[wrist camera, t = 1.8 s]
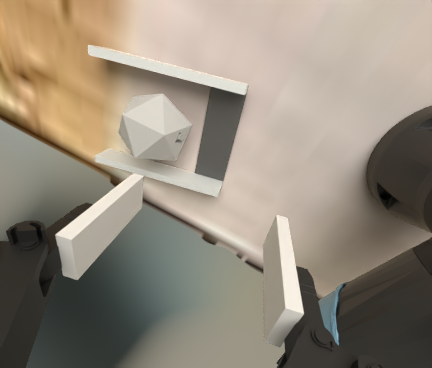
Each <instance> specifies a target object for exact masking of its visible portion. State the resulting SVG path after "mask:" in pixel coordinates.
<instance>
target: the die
mask: <svg viewBox="0 0 432 368" xmlns="http://www.w3.org/2000/svg"><path fill="white" fill-rule="evenodd" d="M191 127H192V124H191V123H190V122H189V121H188V120H187V119H186V117H185V116H184V115H183V114H182V113H181V112H180V111H179V110H178V109H177V107H176V106H175V105H174V104H173V103H172V102H171V101H170V100H169V99H168V98H167V97H166V96H165V95H164V94H163V93H162V94H150V95H137V96H133V98H132V100H131V101H130V103H129V105H128V106H127V108H126V110H125V111H124V113H123V115H122V120H121V124H120V129H119V134H120V136H121V137H122V139H123V140H124V142H125V144H126V145H127V147H128V148H129V150H130V151H131V153H132V155H133V156H134V158H138V159H154V160H170V161H176V160H177V157H178V155H179V153H180V151H181V149H182V146H183V144H184V142H185V140H186V138H187V136H188V133H189V131H190V129H191Z"/></svg>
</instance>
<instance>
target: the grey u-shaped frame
mask: <svg viewBox="0 0 432 368" xmlns="http://www.w3.org/2000/svg"><path fill="white" fill-rule="evenodd" d="M88 55H91V56H95V57H99V58H103V59H107V60H111V61H115V62H118V63H122V64H126V65H130V66H134V67H138V68H142V69H145V70H149V71H153V72H157V73H161V74H165V75H169V76H172V77H176V78H180V79H184V80H188V81H192V82H196V83H199V84H203V85H207V86H211V92H210V97H209V103H208V108H207V113H206V118H205V124H204V129H203V134H202V139H201V145H200V150H199V155H198V160H197V166H196V171H195V173H194V172H191V171H187V170H184V169H180V168H177V167H173V166H170V165H166V164H163V163H159V162H156V161H152V160H149V159H138V158H134V156H133V155H131V154H128V153H124V152H121V151H117V150H114V149H110V148H109V149H107V150H105V151H103V152H101V153H99V154H97V155H95V162H98V163H101V164H105V165H108V166H111V167H115V168H118V169H122V170H125V171H129V172H132V173H135V174H139V175H142V176H146V177H149V178H153V179H156V180H159V181H163V182H166V183H170V184H173V185H177V186H180V187H183V188H187V189H190V190H194V191H197V192H201V193H204V194H207V195H211V196H214V197H218V195H219V192H220V190H221V187H222V183H223V179H224V176H225V172H226V168H227V165H228V161H229V157H230V153H231V150H232V146H233V142H234V138H235V135H236V131H237V127H238V123H239V120H240V116H241V112H242V108H243V105H244V101H245V97H246V93H247V90H248V86H249V84H247V83H243V82H239V81H235V80H231V79H227V78H223V77H219V76H215V75H211V74H207V73H204V72H200V71H196V70H192V69H188V68H184V67H180V66H176V65H172V64H168V63H164V62H161V61H157V60H153V59H149V58H145V57H141V56H137V55H133V54H129V53H125V52H121V51H117V50H114V49H110V48H105V47H99V46H92V45H88Z"/></svg>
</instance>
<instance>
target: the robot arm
mask: <svg viewBox="0 0 432 368" xmlns="http://www.w3.org/2000/svg"><path fill="white" fill-rule="evenodd" d="M143 181H144V176H142V175H139V174H135V173H133V174H132V175H131V176H129V177H128V178H127V179H125V180H124V181H123V182H122V183H120V184H119V185H118V186H117V187H115V188H114V189H113V190H111V191H110V192H109V193H108V194H106V195H105V196H104V197H103V198H101V199H100V200H99V201H98V202H96V203H95V204H94V205H93V204H89V203H85V204H83V205H80V206H77V207H76V208H75V209H73V210H72V211H70V213H68V214H66V215H65V216H64V217H63V218H61V219H60V220H58V221H57V222H55V223H54V224H53V225H51V226H50V227H49V228H47V229H45V226H44V224H43V223H41V222H39V221H24V222H21V223H17V224H15V225H14V226H12V227H10V228H9V229H8V230H7V231H6V233H7V236H8V239H9V241H8V242H7V241H0V368H26V365H27V362H28V359H29V356H30V353H31V350H32V347H33V344H34V341H35V338H36V336H37V333H38V330H39V327H40V324H41V321H42V318H43V315H44V312H45V309H46V306H47V304H48V301H49V298H50V295H51V292H52V289H53V286H54V283H55V280H56V273H57V272H58V271H59V270H60V269H61V268H62V272H63V276H66V277H69V278H72V279H75V280H78V279H79V278H80V277H81V275H82V274H83V273H84V272H85V271H86V270H87V269H88V267H89V266H90V265H91V264H92V263H93V262H94V261H95V260H96V258H97V257H98V256H99V255H100V254H101V253H102V252H103V251H104V250H105V248H106V247H107V246H108V245H109V244H110V243H111V242H112V241H113V239H114V238H115V237H116V236H117V235H118V234H119V232H120V231H121V230H122V229H123V228H124V227H125V226H126V225H127V223H128V222H129V221H130V220H131V219H132V218H133V217H134V216H135V215H136V213H137V212H138V211H139V210H140V209H141V208H142V197H143ZM367 183H368V186H369V189H370V191H371V193H372V195H373V196H374V197H375V199H376V200H377V201H378V202H379V203H380V204H381V205H382V206H383V207H384V208H385V209H386V210H387V211H388V212H390V213H391V214H392V215H394V216H396V217H398V218H400V219H402V220H404V221H407V222H409V223H411V224H413V225H415V226H418V227H420V228H422V229H424V230H426V231H429V232H431V233H432V106H429V107H427V108H424V109H422V110H420V111H418V112H416V113H414V114H412V115H410V116H408V117H407V118H405V119H404V120H402V121H401V122H400V123H398V124H397V125H396V126H394V127H393V128H392V129H391V130H390V131H389V132H388V133H387V134H386V135H385V136H384V137H383V138H382V139H381V141H380V142H379V143H378V145H377V146H376V148H375V149H374V151H373V153H372V155H371V157H370V160H369V163H368V168H367ZM263 258H264V342H266V343H269V344H272V345H275V346H278V347H280V346H281V345H282V343H283V342H285V353H284V354H283V355H282V357H281V358H280V359H279V360H278V362H277V364H278V366H277V368H432V238H430V239H429V240H427V241H425V242H423V243H421V244H419V245H418V246H416V247H413V248H411V249H409V250H407V251H406V252H404V253H402V254H400V255H398V256H396V257H394V258H393V259H391V260H389V261H387V262H385V263H383V264H382V265H380V266H378V267H376V268H374V269H372V270H370V271H369V272H367V273H365V274H363V275H361V276H359V277H357V278H356V279H354V280H352V281H350V282H346V283H343V284H342V285H339V286H338V287H337V288H336V290H335V291H333V292H332V293H330V294H329V295H327V296H325V297H324V298H322V299H321V300H319V301H318V298H317V296H316V295H317V294H316V290H315V286H314V282H313V278H312V276H311V275H310V273H309V272H308V270H307V269H304V268H301V267H298V266H296V264H295V258H294V253H293V247H292V241H291V235H290V229H289V223H288V218H286V217H282V216H279V215H276V217H275V219H274V221H273V224H272V226H271V228H270V230H269V233H268V235H267V237H266V239H265V242H264V244H263Z"/></svg>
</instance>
